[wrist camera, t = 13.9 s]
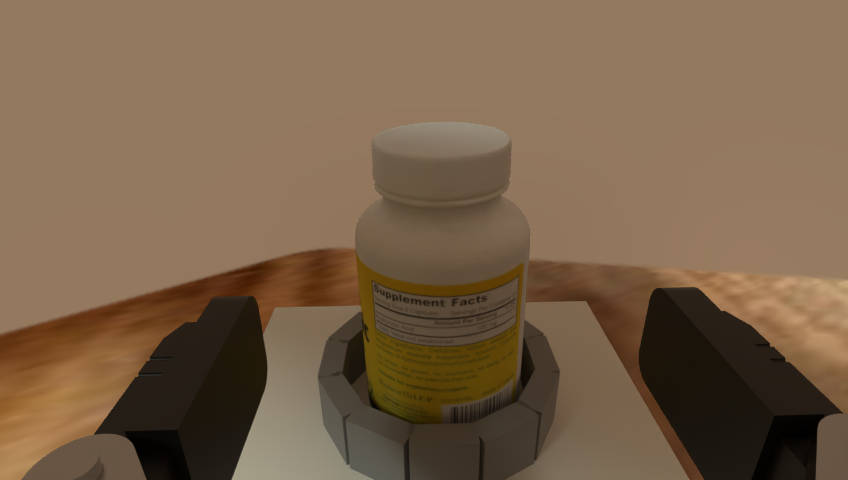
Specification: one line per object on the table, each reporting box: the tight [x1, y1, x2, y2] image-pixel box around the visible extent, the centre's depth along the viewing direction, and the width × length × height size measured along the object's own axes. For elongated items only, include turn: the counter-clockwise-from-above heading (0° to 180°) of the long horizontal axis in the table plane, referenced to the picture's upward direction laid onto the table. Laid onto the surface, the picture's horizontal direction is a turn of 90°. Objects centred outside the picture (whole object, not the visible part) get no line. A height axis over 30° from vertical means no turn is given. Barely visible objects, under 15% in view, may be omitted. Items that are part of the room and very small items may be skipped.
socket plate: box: [232, 301, 689, 480], centre depth 19 cm, size 15×13×3 cm
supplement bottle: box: [355, 122, 530, 424], centre depth 17 cm, size 5×5×10 cm
